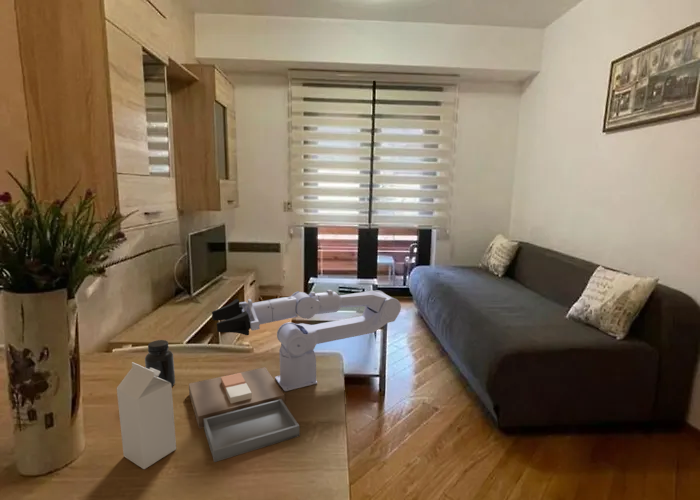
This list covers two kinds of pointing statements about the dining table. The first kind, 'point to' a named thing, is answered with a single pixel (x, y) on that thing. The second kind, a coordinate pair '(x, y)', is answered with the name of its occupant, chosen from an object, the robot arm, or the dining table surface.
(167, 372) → the supplement bottle
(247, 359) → the dining table surface
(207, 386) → the plate
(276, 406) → the tray
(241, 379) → the terracotta tile
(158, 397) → the milk carton
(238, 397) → the cream tile
